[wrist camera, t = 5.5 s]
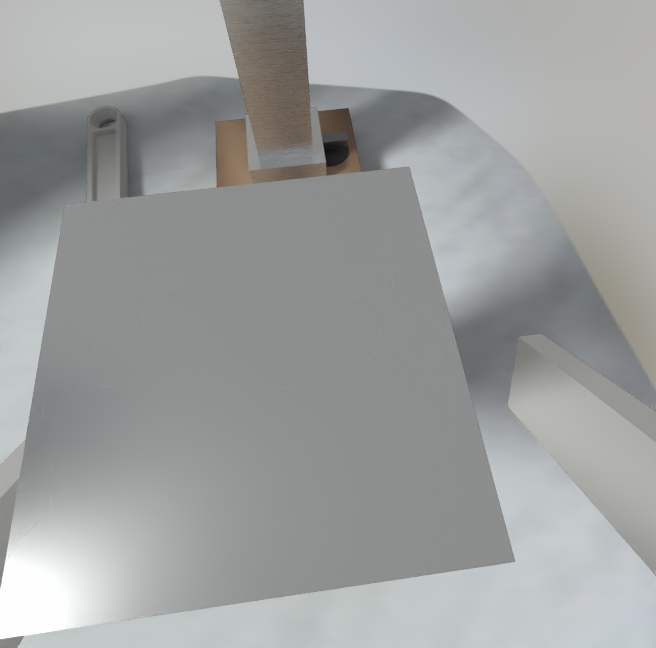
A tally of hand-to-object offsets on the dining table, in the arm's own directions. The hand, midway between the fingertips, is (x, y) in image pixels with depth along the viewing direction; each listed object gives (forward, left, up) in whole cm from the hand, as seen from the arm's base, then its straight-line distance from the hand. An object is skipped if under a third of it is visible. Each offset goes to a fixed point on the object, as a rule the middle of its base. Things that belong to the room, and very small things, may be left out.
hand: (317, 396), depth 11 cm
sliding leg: (+1, -1, -7) cm, 7 cm away
